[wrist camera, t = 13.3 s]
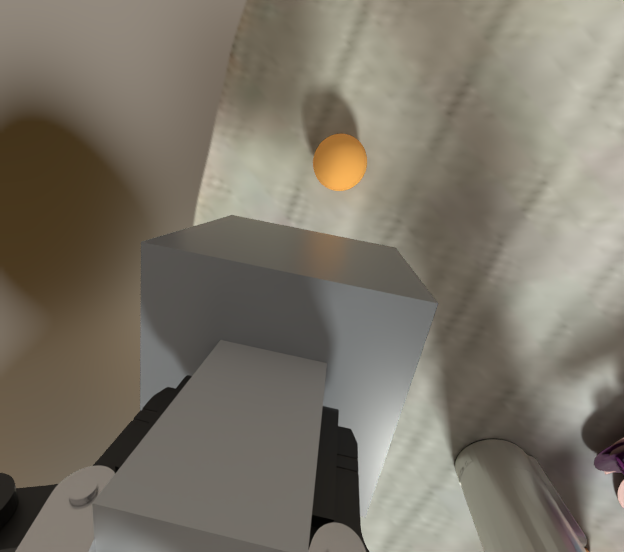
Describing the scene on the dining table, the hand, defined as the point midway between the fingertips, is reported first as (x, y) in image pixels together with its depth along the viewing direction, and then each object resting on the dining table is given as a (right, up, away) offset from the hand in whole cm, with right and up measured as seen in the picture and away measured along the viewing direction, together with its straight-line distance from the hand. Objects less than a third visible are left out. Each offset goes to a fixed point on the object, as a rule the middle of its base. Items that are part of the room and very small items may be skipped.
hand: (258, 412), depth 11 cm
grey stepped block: (+1, +3, +9) cm, 10 cm away
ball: (+4, +15, +18) cm, 24 cm away
